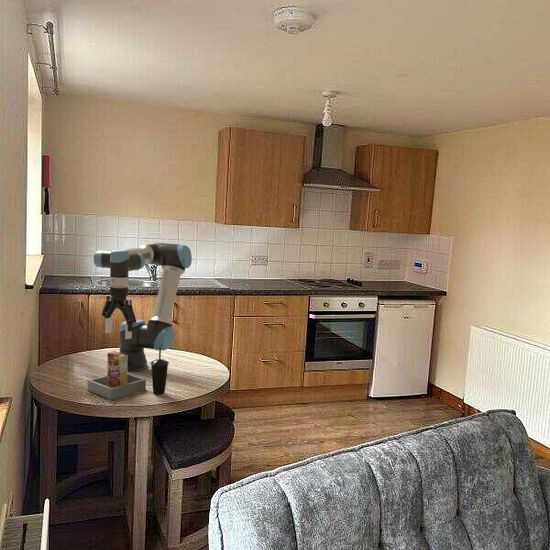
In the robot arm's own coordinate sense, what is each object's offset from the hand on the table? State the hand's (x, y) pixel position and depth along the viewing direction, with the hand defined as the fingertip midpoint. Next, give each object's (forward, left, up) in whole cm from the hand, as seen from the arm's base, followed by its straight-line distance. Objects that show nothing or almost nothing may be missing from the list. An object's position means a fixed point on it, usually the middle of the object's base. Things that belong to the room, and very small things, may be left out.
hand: (118, 335), depth 229 cm
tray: (0, 0, -24) cm, 24 cm away
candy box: (0, 0, -23) cm, 23 cm away
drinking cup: (+16, +10, -24) cm, 30 cm away
